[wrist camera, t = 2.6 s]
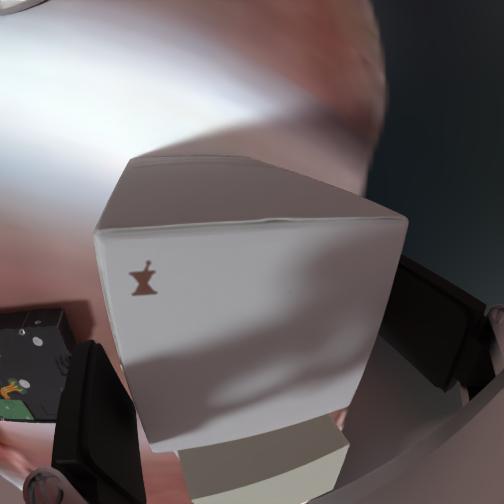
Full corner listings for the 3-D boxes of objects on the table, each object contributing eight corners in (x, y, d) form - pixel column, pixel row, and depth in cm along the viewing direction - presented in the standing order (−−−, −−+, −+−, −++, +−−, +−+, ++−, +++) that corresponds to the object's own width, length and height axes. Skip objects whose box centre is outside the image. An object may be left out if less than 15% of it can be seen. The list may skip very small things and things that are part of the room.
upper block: (174, 436, 17) (190, 499, 12) (313, 391, 19) (349, 444, 15) (207, 483, 21) (223, 528, 17) (308, 450, 23) (332, 489, 19)
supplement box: (133, 275, 18) (144, 458, 7) (128, 156, 15) (82, 219, 4) (244, 267, 20) (351, 411, 10) (253, 156, 18) (419, 214, 7)
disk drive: (64, 299, 18) (-69, 314, 13) (56, 323, 15) (-82, 333, 10) (104, 398, 22) (-19, 401, 17) (104, 422, 19) (-25, 421, 15)
